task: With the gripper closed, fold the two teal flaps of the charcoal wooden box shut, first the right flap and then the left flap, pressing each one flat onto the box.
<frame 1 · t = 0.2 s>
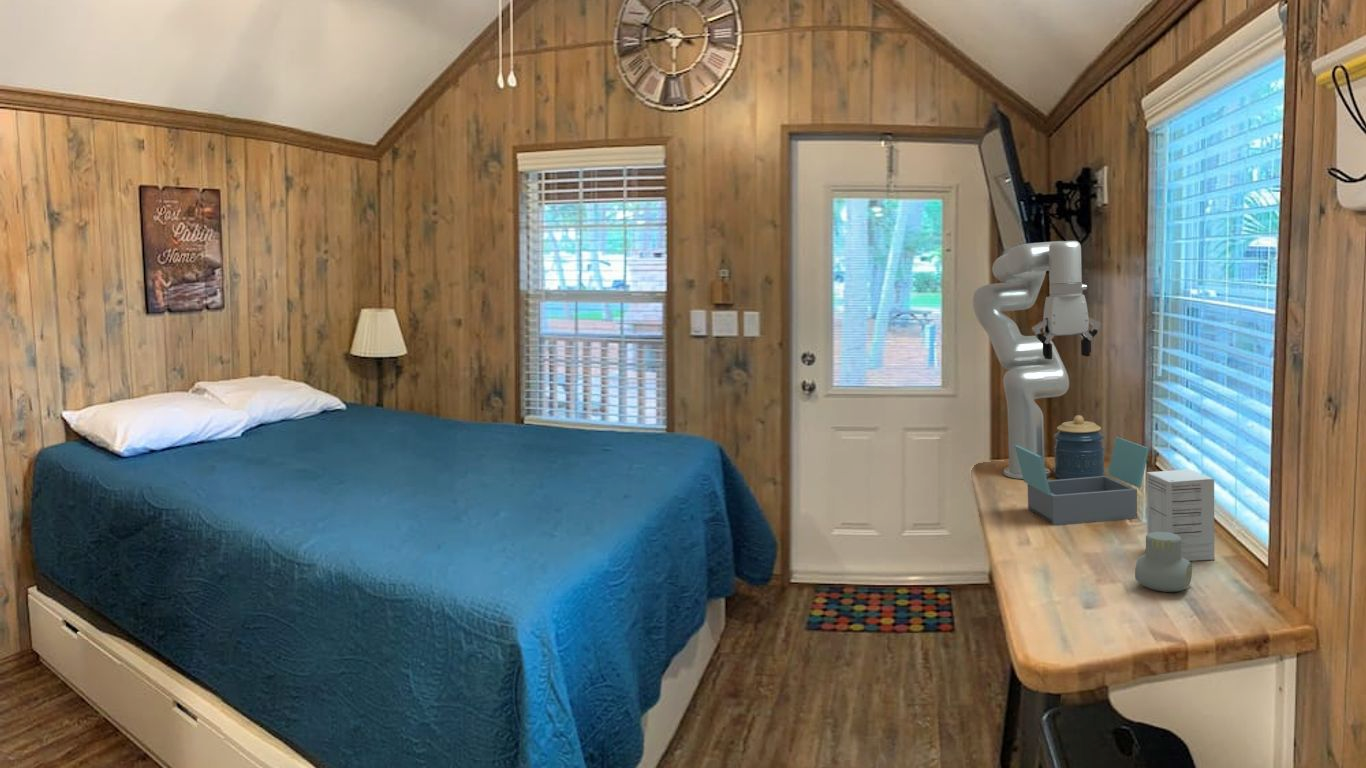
hand: (1066, 357, 223), 37 cm above the table, tool pointing down, fingers open, 9 cm apart
flap 1: (1032, 469, 211), point 12 cm above the table, hinge at 103.0°
box: (1080, 513, 213), on the table
supplement box: (1180, 555, 181), on the table
air freshener: (1163, 588, 165), on the table
flap 2: (1127, 461, 212), point 12 cm above the table, hinge at 103.0°
canister: (1079, 477, 246), on the table
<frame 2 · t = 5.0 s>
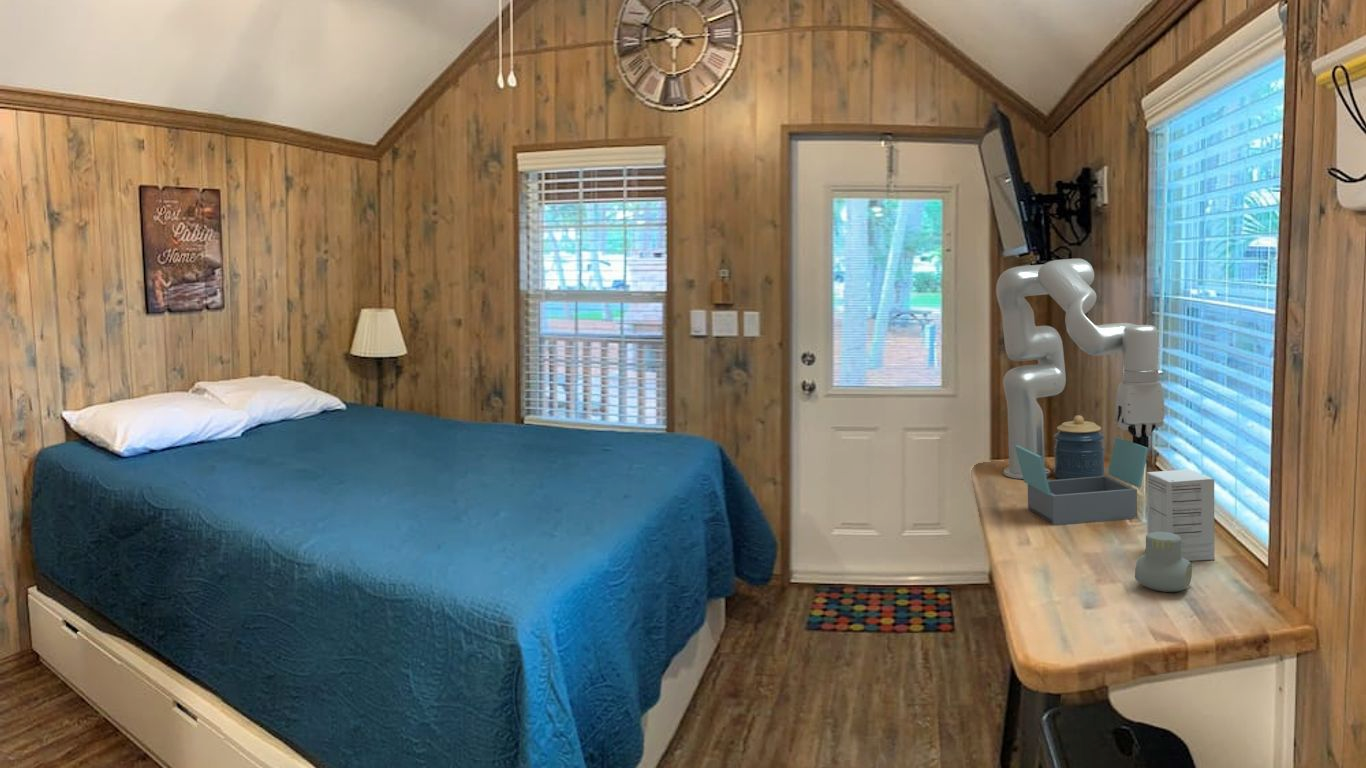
hand: (1140, 451, 211), 14 cm above the table, tool pointing down, fingers closed
flap 2: (1127, 461, 212), point 12 cm above the table, hinge at 101.9°, touching gripper
everything else where it was.
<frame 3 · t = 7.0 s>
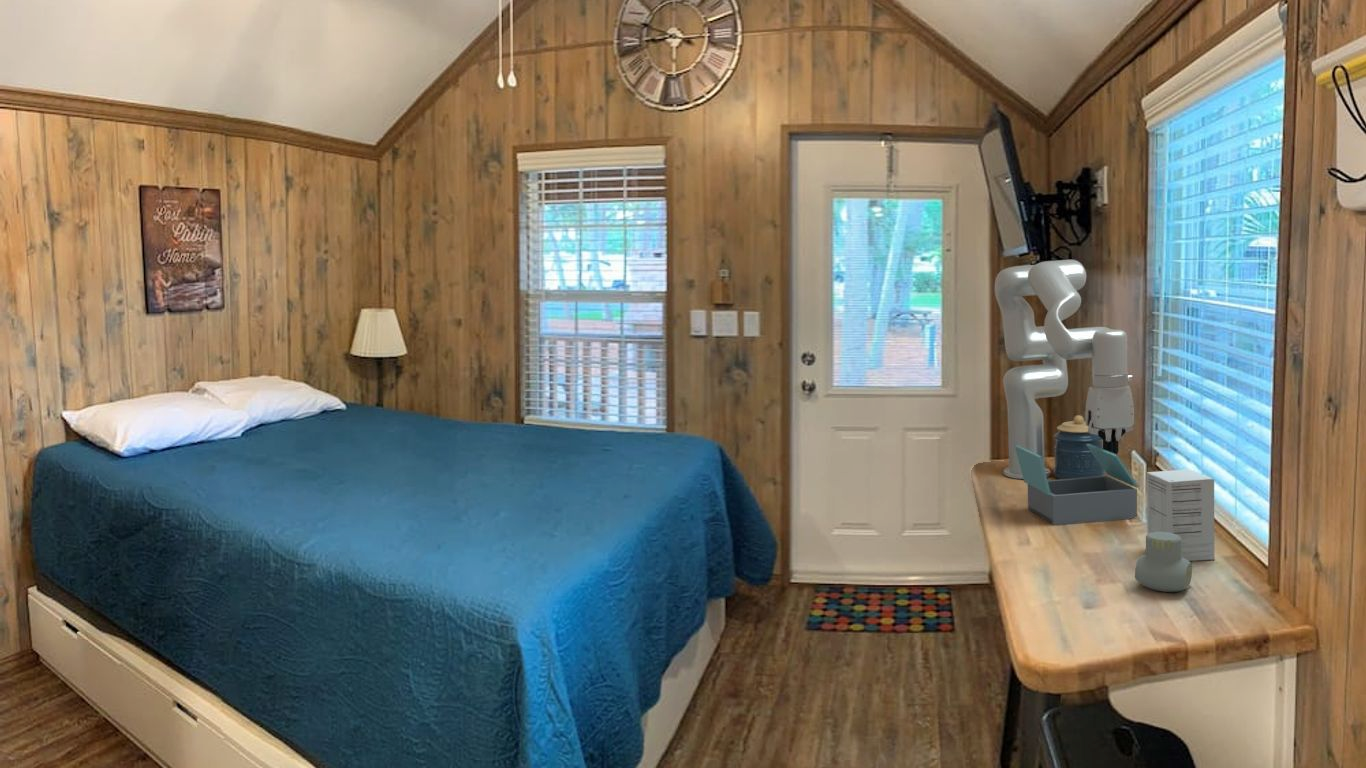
hand: (1110, 456, 211), 14 cm above the table, tool pointing down, fingers closed
flap 2: (1111, 464, 211), point 12 cm above the table, hinge at 56.8°, touching gripper
everything else where it was.
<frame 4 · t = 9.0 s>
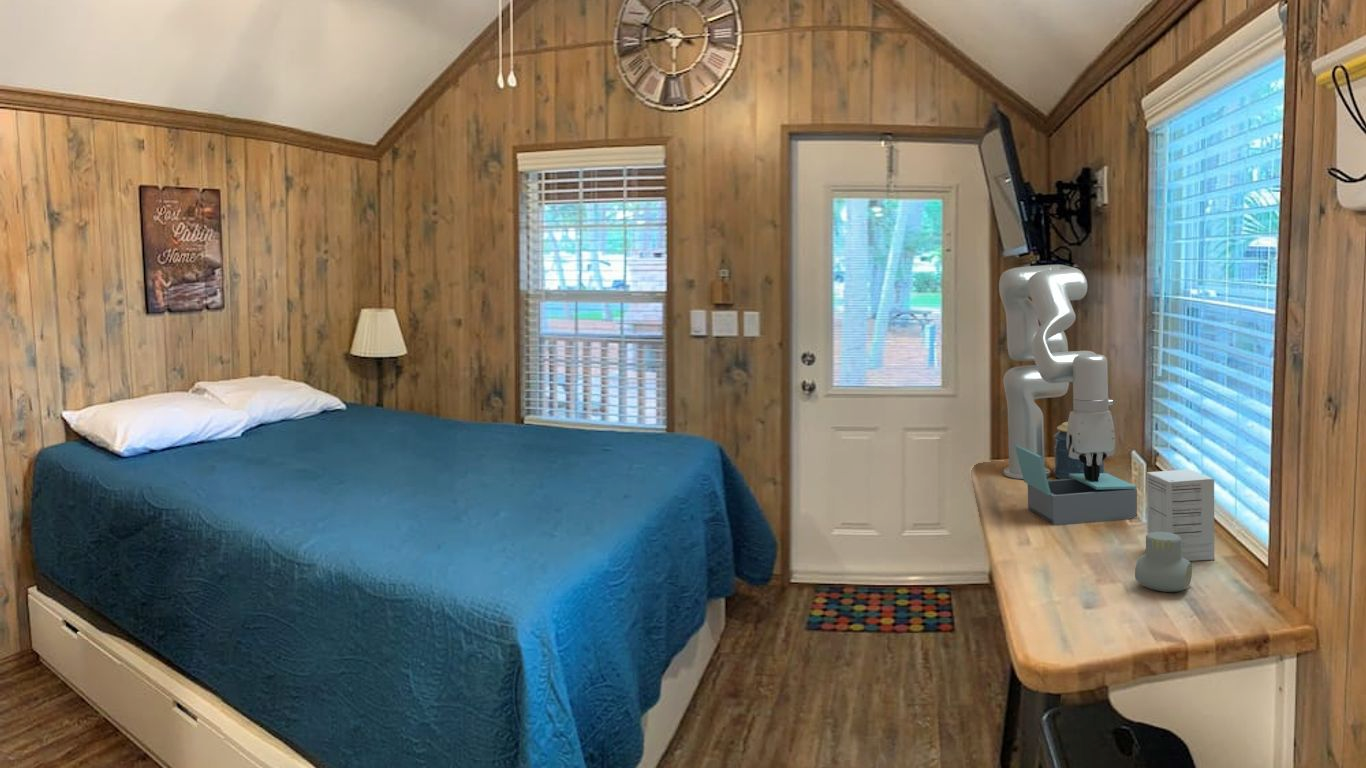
hand: (1091, 480, 211), 8 cm above the table, tool pointing down, fingers closed
flap 2: (1101, 481, 212), point 8 cm above the table, hinge at 3.8°, touching gripper
everything else where it was.
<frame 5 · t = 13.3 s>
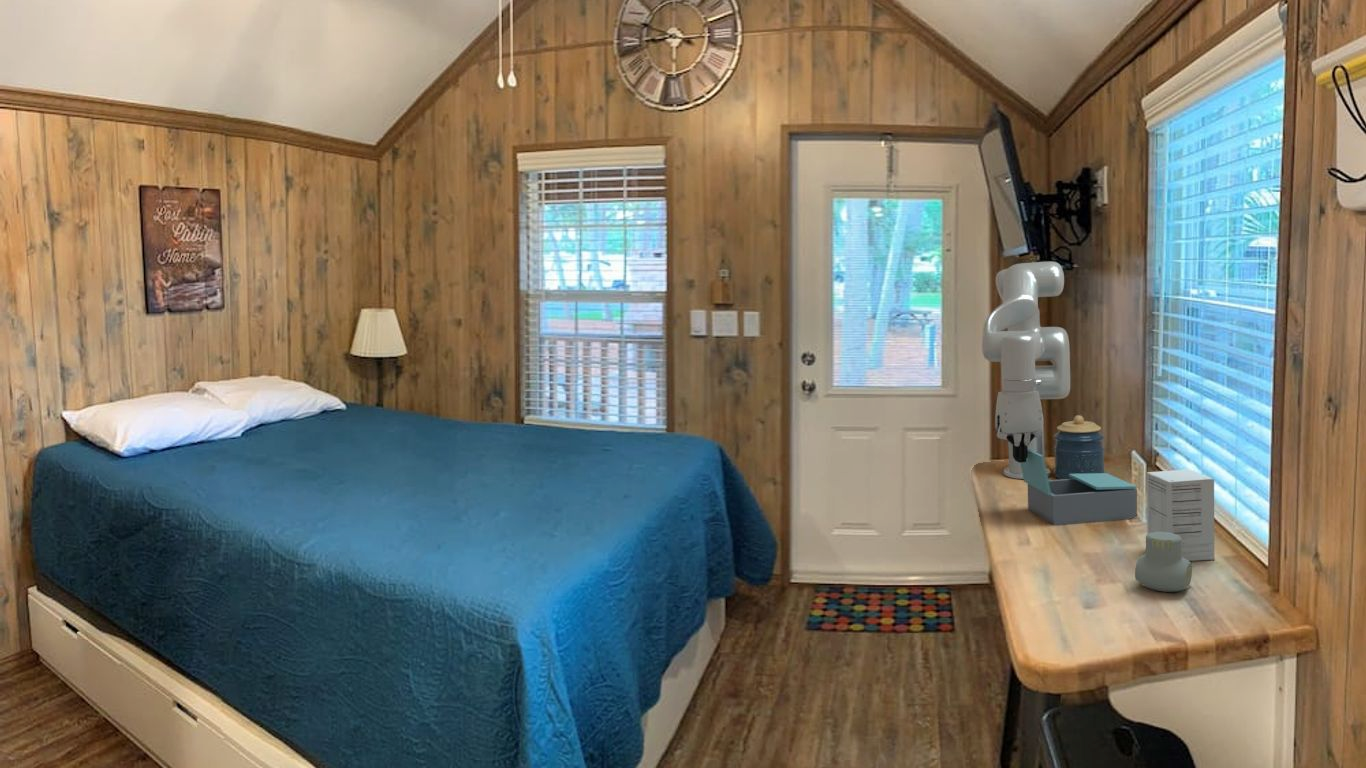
hand: (1020, 461, 211), 14 cm above the table, tool pointing down, fingers closed
flap 1: (1033, 469, 211), point 12 cm above the table, hinge at 100.1°, touching gripper
flap 2: (1101, 481, 212), point 8 cm above the table, hinge at 3.6°
everything else where it was.
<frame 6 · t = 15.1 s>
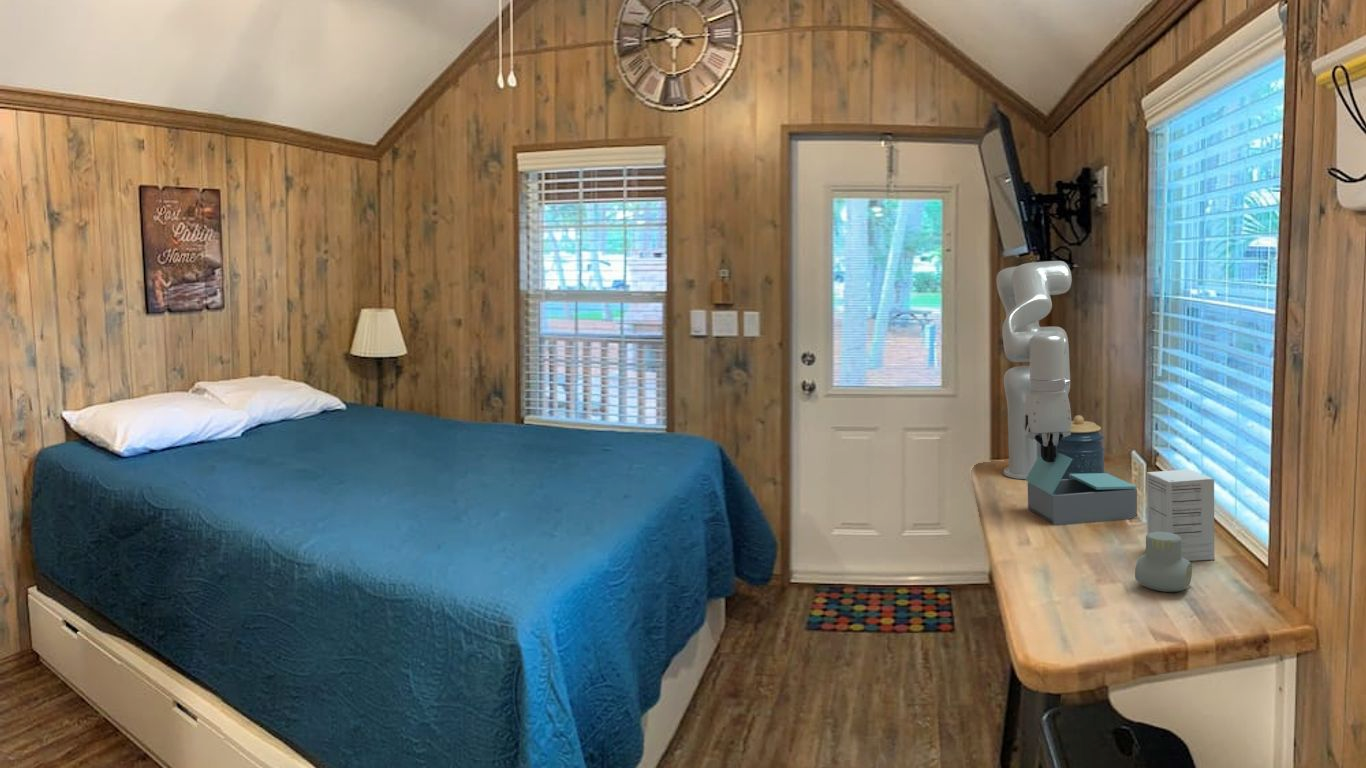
hand: (1048, 460, 211), 14 cm above the table, tool pointing down, fingers closed
flap 1: (1048, 469, 211), point 12 cm above the table, hinge at 58.4°, touching gripper
everything else where it was.
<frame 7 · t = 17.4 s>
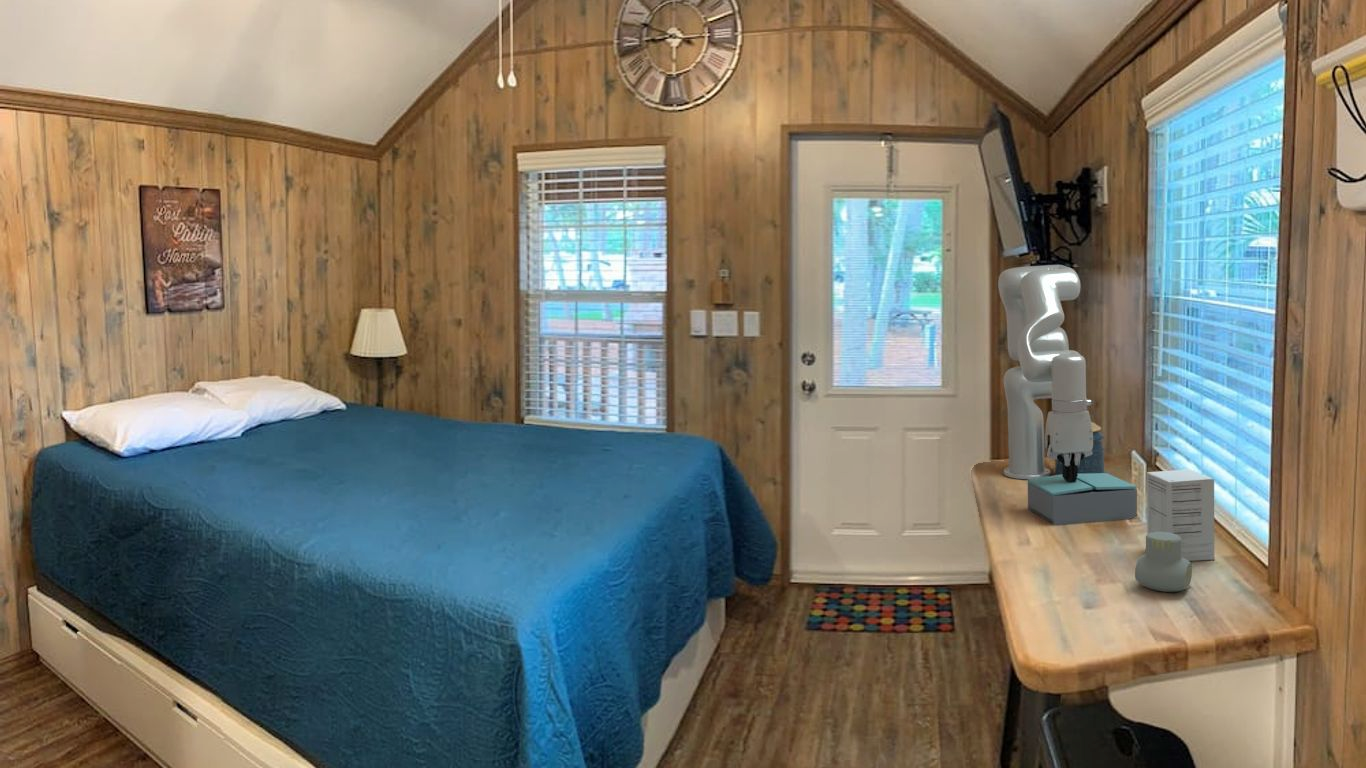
hand: (1070, 480, 212), 8 cm above the table, tool pointing down, fingers closed
flap 1: (1059, 484, 212), point 8 cm above the table, hinge at 4.1°
everything else where it was.
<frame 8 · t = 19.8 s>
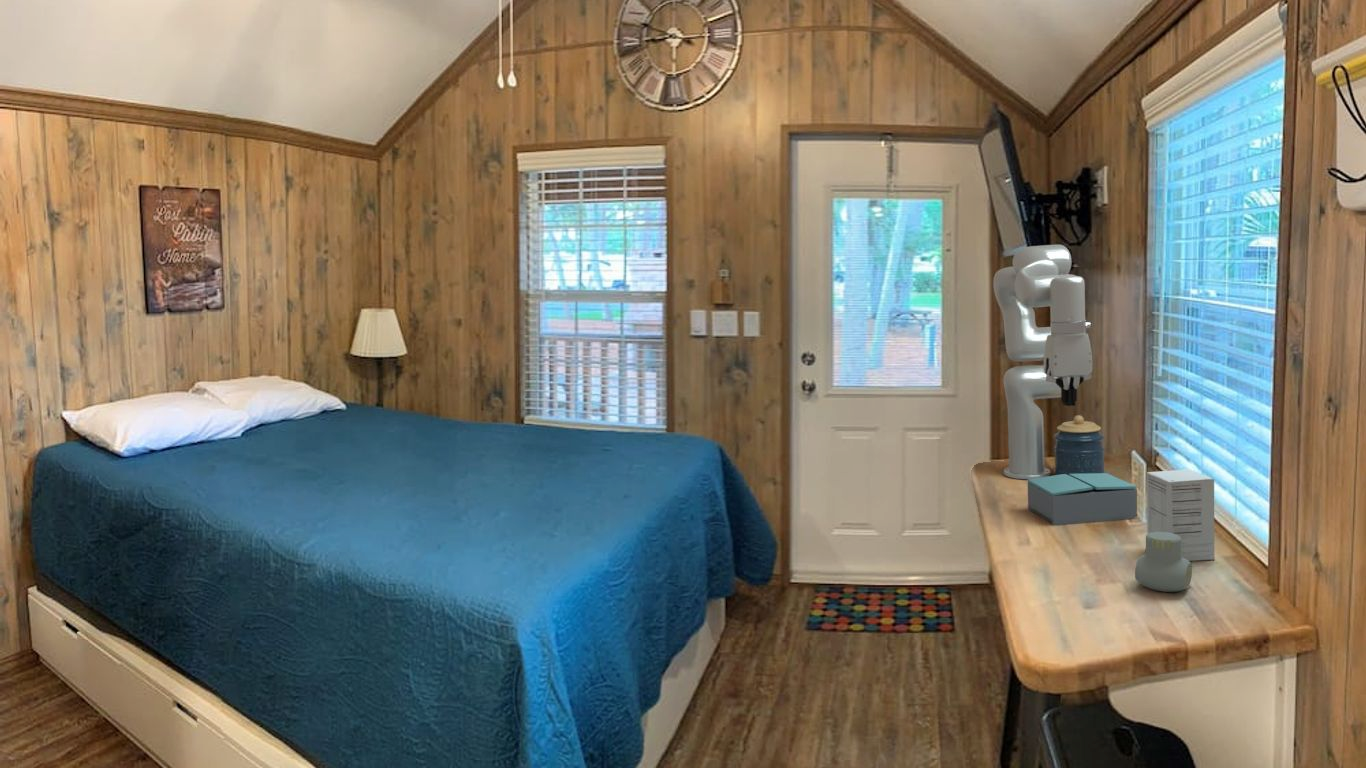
hand: (1069, 404, 209), 27 cm above the table, tool pointing down, fingers closed
nothing on the table moved.
at the end: flap 2 at +4° (first picture: +103°); flap 1 at +4° (first picture: +103°) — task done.
